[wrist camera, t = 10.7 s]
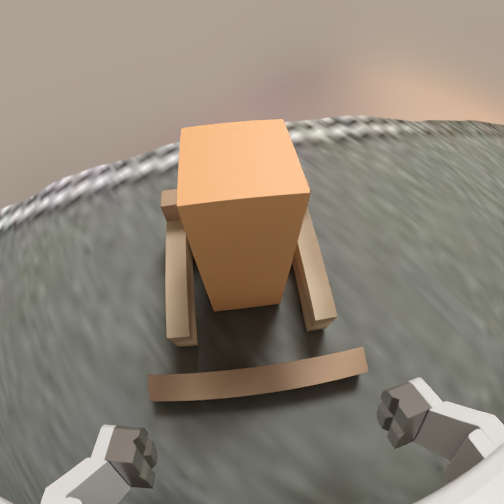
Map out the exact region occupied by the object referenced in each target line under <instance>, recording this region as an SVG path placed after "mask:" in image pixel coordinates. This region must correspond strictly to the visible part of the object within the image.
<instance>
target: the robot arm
mask: <svg viewBox="0 0 504 504" xmlns="http://www.w3.org/2000/svg"><path fill="white" fill-rule="evenodd" d="M381 399H382V401H383V402H382V403H381V404H380V405H379V406H378V410H377V418H378V421H379V424H380V426H381V427H382V429H384V430H387V431H388V435H387V437H388V439H389V441H390V442H391V444H392V446H393V447H394V449H396V448H398V447H401V446H403V445H406V444H408V443H410V442H413V441H414V442H415V443H417V444H419V445H421V446H423V447H425V448H427V449H429V450H430V451H432V452H434V453H436V454H438V455H440V456H442V457H444V458H446V459H448V460H451V461H450V463H449V464H448V465H447V467H446V468H445V469H444V472H443V474H444V475H445V477H446V478H447V480H448V481H449V484H447V485H445V486H444V487H442V488H440V489H439V490H437V491H435V492H434V493H432V494H430V495H428V496H426V497H425V498H423V499H421V500H419V501H417V502H415V503H413V504H504V425H503V424H502V423H501V422H500V421H499V419H498V418H497V417H496V416H495V415H492V414H488V413H485V412H481V411H477V410H474V409H471V408H467V407H464V406H461V405H457V404H454V403H451V402H448V401H445V402H442V400H441V399H440V398H439V397H438V396H437V395H436V394H435V393H434V392H433V390H432V389H431V388H430V387H429V386H428V385H427V384H426V383H425V382H424V380H423V379H422V378H419V377H418V378H416V379H413V380H411V381H408V382H405V383H402V384H400V385H397V386H395V387H392V388H389V389H386V390H384V391H383V392H382V395H381ZM156 464H157V450H156V447H155V444H154V443H153V441H152V440H150V439H148V432H147V431H146V429H145V428H141V427H127V426H116V425H106V424H104V425H103V426H102V427H101V430H100V433H99V435H98V438H97V441H96V444H95V447H94V449H93V452H92V455H91V458H86V459H85V460H83V461H82V462H81V463H79V464H78V465H77V466H75V467H74V468H73V469H71V470H70V471H69V472H67V473H66V474H65V475H63V476H62V477H61V478H59V479H58V480H56V481H55V482H54V483H52V484H51V485H49V486H48V487H47V488H46V489H45V492H44V495H43V498H42V501H41V504H117V503H118V502H119V501H120V500H121V499H122V498H123V497H124V496H125V494H126V493H127V492H128V491H129V490H130V489H131V487H138V488H152V489H153V486H154V479H155V473H154V472H153V470H152V468H153V467H154V466H155V465H156ZM0 504H14V503H12V502H10V501H8V500H6V499H4V498H3V497H1V496H0Z"/></svg>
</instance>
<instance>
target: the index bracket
mask: <svg viewBox="0 0 504 504" xmlns="http://www.w3.org/2000/svg"><path fill="white" fill-rule="evenodd" d="M305 179H306V182H307V185H308V187H309V190H310V193H311V189H310V186H309V183H308V180H307V177H306V176H305ZM309 197H310V196H309ZM308 201H309V200H308ZM307 205H308V204H307ZM161 208H162V211H163V213H164V216H165V218H166V221H167V227H166V273H165V284H166V329H167V339H169V340H170V341H171V342H173V343H174V344H175V345H176V346H178V347H187V346H198V336H197V323H196V309H195V292H194V272H193V253H192V250H191V247H190V244H189V241H188V238H187V236H186V233H185V230H184V227H183V224H182V221H181V218H180V215H179V212H178V209H177V189H173V190H167V191H162V197H161ZM292 264H293V269H294V273H295V278H296V283H297V287H298V292H299V297H300V301H301V306H302V311H303V316H304V321H305V326H306V331H307V332H308V331H314V330H320V329H325V328H327V327H328V326H329V325H330V324H331V322H332V321H333V320H334V319H335V318H336V317H337V313H336V309H335V305H334V301H333V297H332V293H331V289H330V285H329V281H328V277H327V273H326V270H325V266H324V262H323V259H322V255H321V251H320V248H319V244H318V241H317V237H316V234H315V231H314V227H313V224H312V220H311V217H310V214H309V211H308V207H307V208H306V212H305V215H304V219H303V223H302V227H301V231H300V234H299V238H298V242H297V246H296V249H295V253H294V257H293V260H292Z"/></svg>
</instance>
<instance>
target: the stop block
mask: <svg viewBox="0 0 504 504" xmlns="http://www.w3.org/2000/svg"><path fill="white" fill-rule="evenodd" d="M309 196H310V190H309V187H308V185H307V182H306V179H305V176H304V173H303V170H302V168H301V165H300V162H299V159H298V157H297V154H296V151H295V149H294V146H293V143H292V141H291V138H290V136H289V133H288V130H287V128H286V125H285V123H284V120H283V119H278V120H277V119H276V120H256V121H242V122H231V123H220V124H211V125H203V126H195V127H187V128H182V129H181V139H180V152H179V168H178V187H177V209H178V212H179V215H180V218H181V221H182V224H183V227H184V230H185V233H186V236H187V238H188V241H189V244H190V247H191V250H192V253H193V256H194V258H195V261H196V264H197V267H198V270H199V272H200V275H201V278H202V280H203V283H204V286H205V289H206V291H207V294H208V296H209V299H210V302H211V304H212V307H213V310H214V312H215V311H224V310H233V309H242V308H250V307H258V306H266V305H273V304H280V302H281V299H282V295H283V292H284V288H285V285H286V281H287V278H288V274H289V271H290V267H291V264H292V260H293V257H294V253H295V249H296V246H297V242H298V238H299V234H300V231H301V227H302V223H303V219H304V215H305V212H306V208H307V204H308V200H309Z"/></svg>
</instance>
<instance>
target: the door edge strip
mask: <svg viewBox="0 0 504 504" xmlns="http://www.w3.org/2000/svg"><path fill="white" fill-rule="evenodd" d="M365 372H368V367H367V362H366V357H365V353H364V348H363V347H360V348H355V349H351V350H347V351H343V352H338V353H334V354H329V355H324V356H319V357H314V358H309V359H303V360H298V361H292V362H286V363H280V364H273V365H266V366H259V367H251V368H243V369H234V370H225V371H214V372H202V373H187V374H166V375H148V385H149V397H150V401H192V400H209V399H222V398H232V397H242V396H250V395H258V394H265V393H272V392H278V391H285V390H290V389H296V388H301V387H306V386H311V385H316V384H321V383H326V382H330V381H334V380H339V379H343V378H347V377H351V376H354V375H358V374H362V373H365Z"/></svg>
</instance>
